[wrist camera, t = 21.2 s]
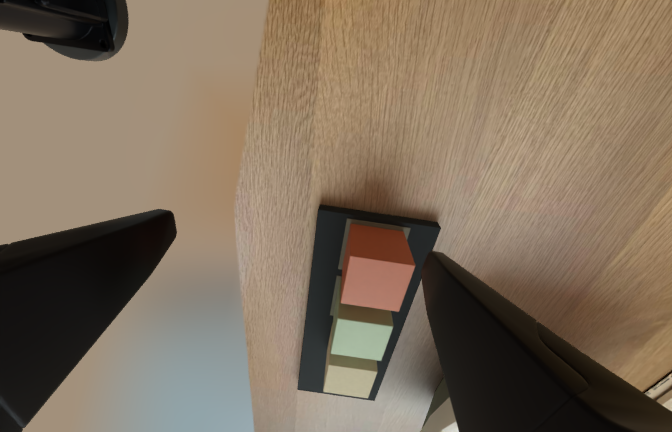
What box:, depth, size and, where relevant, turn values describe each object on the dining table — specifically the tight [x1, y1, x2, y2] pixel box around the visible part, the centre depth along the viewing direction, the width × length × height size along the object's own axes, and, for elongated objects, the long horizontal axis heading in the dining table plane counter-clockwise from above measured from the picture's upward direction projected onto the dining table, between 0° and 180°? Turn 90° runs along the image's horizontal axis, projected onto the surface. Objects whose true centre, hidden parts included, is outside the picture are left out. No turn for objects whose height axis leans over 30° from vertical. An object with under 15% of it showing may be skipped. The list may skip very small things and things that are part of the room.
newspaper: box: [645, 373, 672, 411], centre depth 32 cm, size 24×7×2 cm, turn 171°
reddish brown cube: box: [340, 224, 415, 312], centre depth 19 cm, size 4×4×4 cm
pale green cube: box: [330, 280, 393, 361], centre depth 22 cm, size 4×4×4 cm
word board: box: [298, 205, 441, 401], centre depth 25 cm, size 10×26×5 cm, turn 172°
